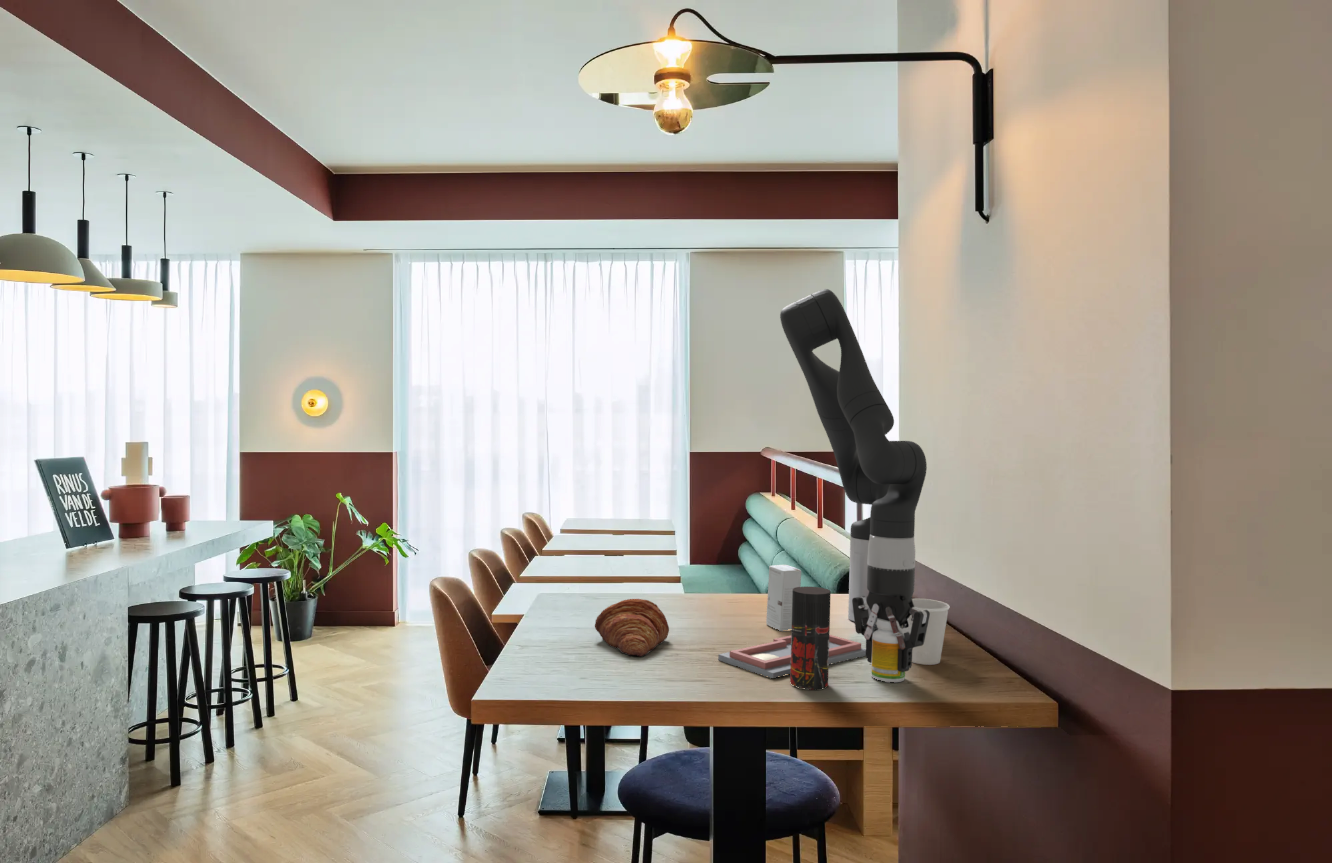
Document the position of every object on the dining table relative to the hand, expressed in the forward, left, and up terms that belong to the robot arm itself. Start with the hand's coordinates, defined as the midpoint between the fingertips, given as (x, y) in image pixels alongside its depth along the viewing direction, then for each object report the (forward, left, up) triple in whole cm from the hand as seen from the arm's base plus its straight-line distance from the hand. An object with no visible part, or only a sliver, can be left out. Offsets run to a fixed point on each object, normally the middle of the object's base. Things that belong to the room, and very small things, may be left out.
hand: (887, 665), depth 145 cm
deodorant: (+13, -5, -2) cm, 14 cm away
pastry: (+21, -41, -2) cm, 46 cm away
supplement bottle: (0, 0, -2) cm, 2 cm away
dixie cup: (-14, -3, -2) cm, 14 cm away
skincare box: (-10, -33, -2) cm, 35 cm away
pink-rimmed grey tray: (+4, -17, -2) cm, 18 cm away
